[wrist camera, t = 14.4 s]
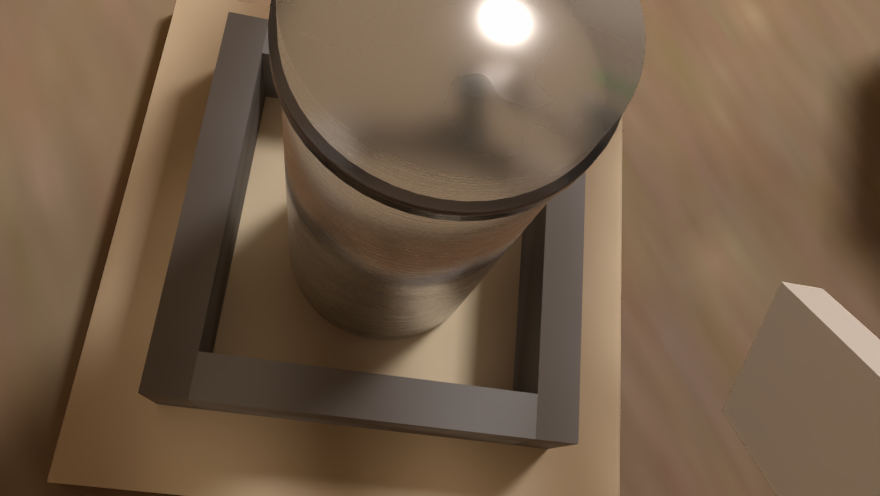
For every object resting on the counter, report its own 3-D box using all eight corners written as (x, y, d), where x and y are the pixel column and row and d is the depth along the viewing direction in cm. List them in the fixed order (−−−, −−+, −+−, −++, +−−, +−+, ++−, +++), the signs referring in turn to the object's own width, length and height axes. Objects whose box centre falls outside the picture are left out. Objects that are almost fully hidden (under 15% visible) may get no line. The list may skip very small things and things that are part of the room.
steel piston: (488, 173, 24) (650, -106, 13) (475, 357, 22) (657, 216, 11) (301, 142, 23) (300, -187, 12) (268, 331, 21) (228, 146, 10)
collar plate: (611, 90, 27) (653, 35, 24) (605, 535, 22) (659, 543, 18) (184, 7, 25) (166, -65, 22) (58, 482, 19) (10, 481, 16)
